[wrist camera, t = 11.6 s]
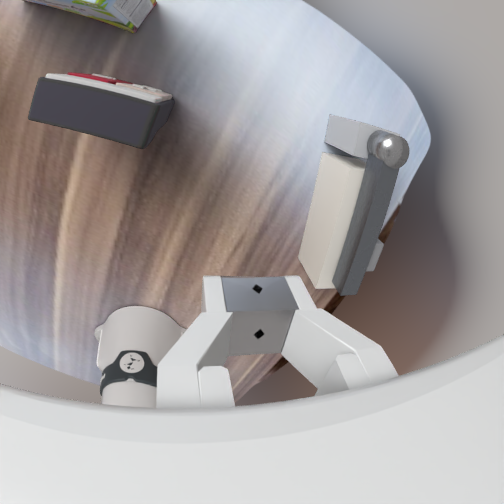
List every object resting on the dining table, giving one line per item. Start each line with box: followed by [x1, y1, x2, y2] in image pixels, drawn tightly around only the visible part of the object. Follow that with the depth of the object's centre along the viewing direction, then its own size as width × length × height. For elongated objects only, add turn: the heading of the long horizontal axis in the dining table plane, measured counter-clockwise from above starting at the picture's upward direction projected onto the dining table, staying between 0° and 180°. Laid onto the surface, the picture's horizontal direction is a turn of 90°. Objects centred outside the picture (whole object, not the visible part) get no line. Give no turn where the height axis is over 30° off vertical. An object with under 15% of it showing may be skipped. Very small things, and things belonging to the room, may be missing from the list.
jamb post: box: [324, 114, 400, 159], centre depth 32 cm, size 4×6×8 cm, turn 82°
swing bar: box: [332, 130, 409, 295], centre depth 32 cm, size 21×4×3 cm, turn 172°
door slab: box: [298, 152, 384, 289], centre depth 37 cm, size 17×6×11 cm, turn 172°
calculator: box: [28, 72, 175, 149], centre depth 22 cm, size 11×4×15 cm, turn 65°
